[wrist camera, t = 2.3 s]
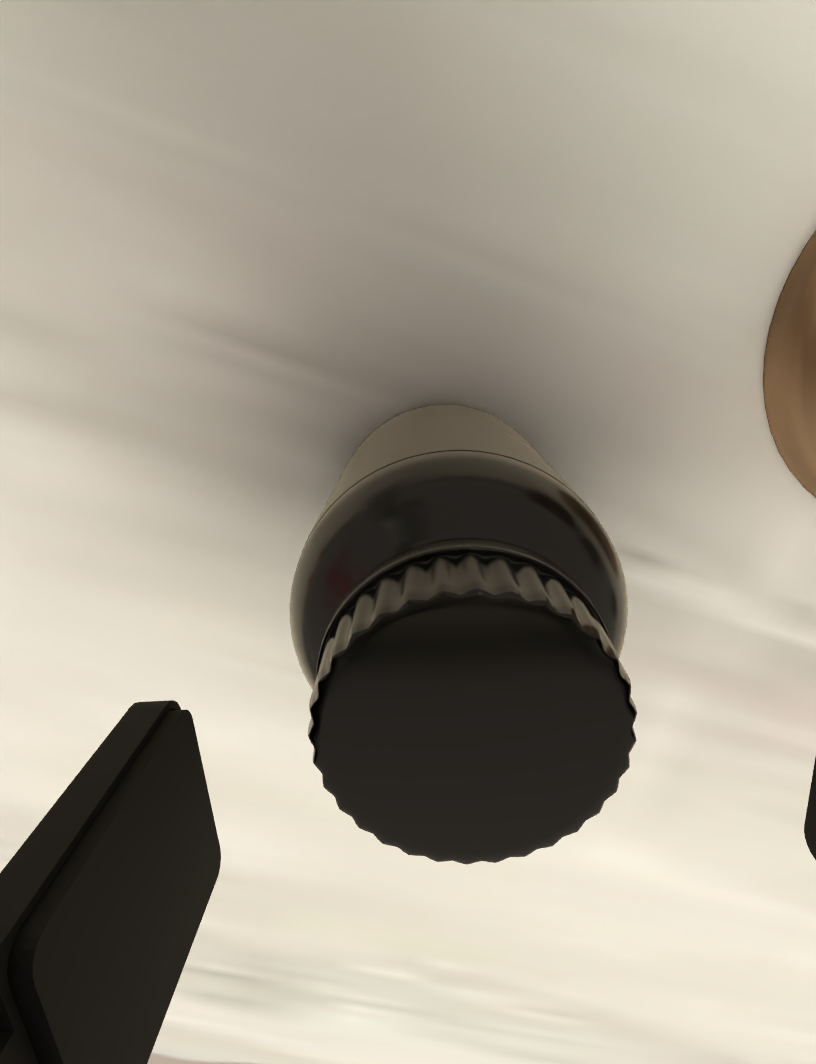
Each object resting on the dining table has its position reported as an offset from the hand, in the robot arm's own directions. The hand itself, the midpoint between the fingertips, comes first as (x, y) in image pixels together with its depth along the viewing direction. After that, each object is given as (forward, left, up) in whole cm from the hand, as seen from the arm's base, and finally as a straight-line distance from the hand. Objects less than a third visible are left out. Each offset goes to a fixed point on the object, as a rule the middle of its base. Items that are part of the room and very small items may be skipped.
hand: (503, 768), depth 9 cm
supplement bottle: (-1, 0, -12) cm, 12 cm away
